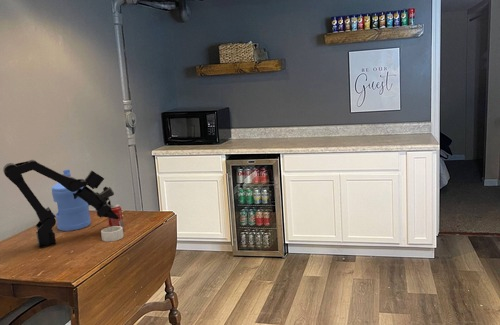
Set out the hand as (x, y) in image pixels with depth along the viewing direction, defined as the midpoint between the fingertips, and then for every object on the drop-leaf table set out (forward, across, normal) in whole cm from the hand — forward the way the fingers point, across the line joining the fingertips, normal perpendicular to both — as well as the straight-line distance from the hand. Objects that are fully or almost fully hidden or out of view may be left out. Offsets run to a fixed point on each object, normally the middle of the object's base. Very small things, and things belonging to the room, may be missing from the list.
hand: (118, 216), depth 221 cm
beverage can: (+4, 0, +6) cm, 7 cm away
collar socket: (+2, -10, +7) cm, 13 cm away
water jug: (-10, +19, +20) cm, 29 cm away
